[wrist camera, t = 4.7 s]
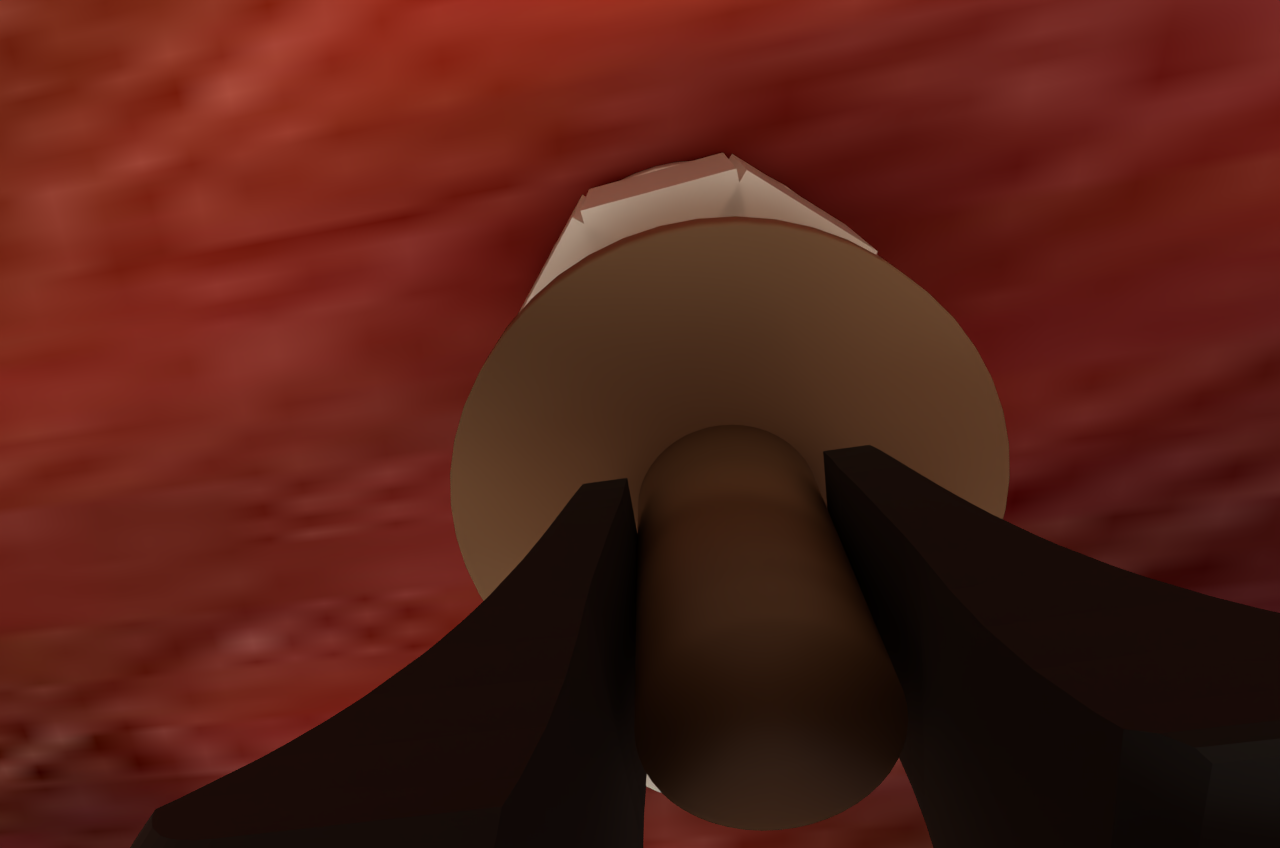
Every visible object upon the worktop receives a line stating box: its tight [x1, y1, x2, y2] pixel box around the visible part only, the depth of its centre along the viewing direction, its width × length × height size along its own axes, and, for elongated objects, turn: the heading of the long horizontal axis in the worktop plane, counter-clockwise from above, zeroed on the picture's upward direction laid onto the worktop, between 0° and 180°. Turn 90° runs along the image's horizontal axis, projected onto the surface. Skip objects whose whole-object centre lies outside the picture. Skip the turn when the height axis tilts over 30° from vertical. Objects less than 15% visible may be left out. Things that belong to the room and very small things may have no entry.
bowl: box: [518, 153, 878, 314], centre depth 18 cm, size 8×8×4 cm
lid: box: [450, 216, 1010, 831], centre depth 10 cm, size 8×8×5 cm
